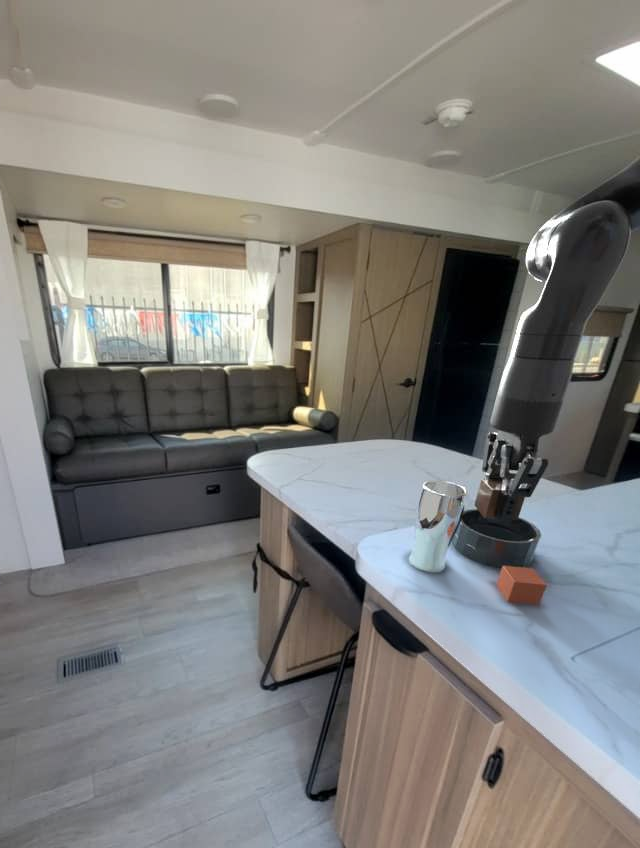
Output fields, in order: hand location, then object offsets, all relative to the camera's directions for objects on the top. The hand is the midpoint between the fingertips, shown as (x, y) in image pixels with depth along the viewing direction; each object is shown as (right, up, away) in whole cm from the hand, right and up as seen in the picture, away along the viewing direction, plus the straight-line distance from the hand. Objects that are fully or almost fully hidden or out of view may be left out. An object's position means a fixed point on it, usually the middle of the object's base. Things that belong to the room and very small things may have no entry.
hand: (495, 510), depth 61 cm
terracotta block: (+5, -14, +3) cm, 15 cm away
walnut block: (0, 0, 0) cm, 0 cm away
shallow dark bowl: (+8, -8, +15) cm, 19 cm away
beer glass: (-6, -10, +11) cm, 16 cm away
